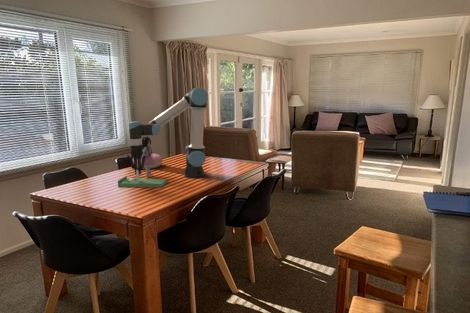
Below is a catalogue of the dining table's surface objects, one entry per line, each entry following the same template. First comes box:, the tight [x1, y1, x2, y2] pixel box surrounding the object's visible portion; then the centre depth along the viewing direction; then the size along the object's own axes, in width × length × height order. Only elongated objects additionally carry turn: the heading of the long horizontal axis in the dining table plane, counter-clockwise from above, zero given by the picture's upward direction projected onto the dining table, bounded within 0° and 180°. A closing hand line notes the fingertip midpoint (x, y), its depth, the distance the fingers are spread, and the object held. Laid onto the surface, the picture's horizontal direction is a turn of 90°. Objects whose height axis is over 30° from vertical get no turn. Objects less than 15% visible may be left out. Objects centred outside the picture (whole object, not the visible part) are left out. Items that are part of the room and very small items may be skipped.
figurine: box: [141, 135, 155, 178], centre depth 243 cm, size 22×10×30 cm, turn 168°
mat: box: [117, 175, 168, 188], centre depth 224 cm, size 30×12×4 cm, turn 84°
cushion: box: [132, 153, 164, 170], centre depth 277 cm, size 25×25×10 cm
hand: (138, 178), depth 224 cm, fingers closed
